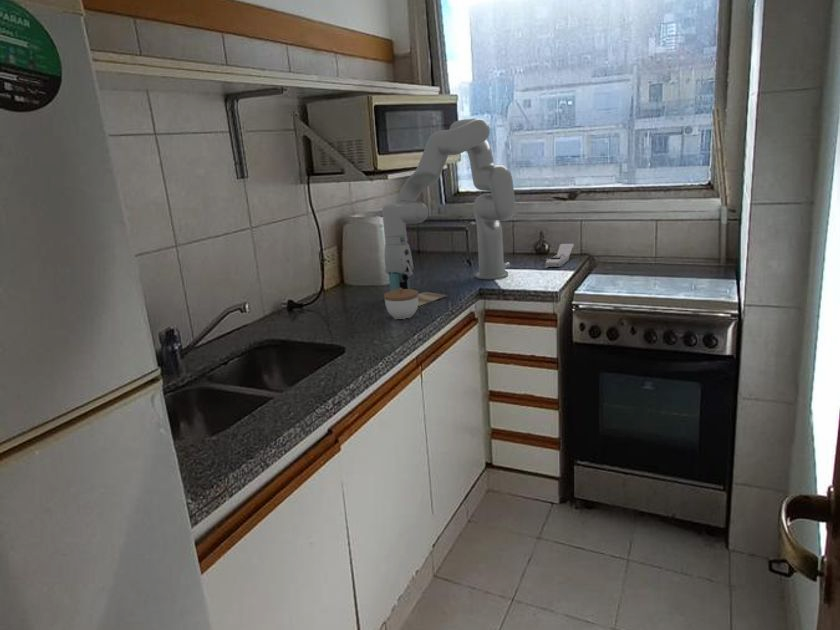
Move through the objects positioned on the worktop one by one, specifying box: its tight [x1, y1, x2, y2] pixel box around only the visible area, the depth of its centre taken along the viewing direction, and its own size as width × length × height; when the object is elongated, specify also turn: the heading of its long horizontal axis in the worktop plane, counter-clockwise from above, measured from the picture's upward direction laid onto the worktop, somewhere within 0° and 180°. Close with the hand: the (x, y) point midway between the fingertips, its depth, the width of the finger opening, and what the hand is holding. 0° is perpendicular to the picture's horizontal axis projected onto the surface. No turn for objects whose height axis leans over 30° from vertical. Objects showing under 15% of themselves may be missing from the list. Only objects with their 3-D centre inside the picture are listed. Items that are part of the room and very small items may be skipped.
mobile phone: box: [544, 243, 574, 269], centre depth 251 cm, size 6×6×25 cm
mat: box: [418, 291, 448, 307], centre depth 210 cm, size 16×11×1 cm
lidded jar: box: [383, 288, 419, 320], centre depth 191 cm, size 11×11×9 cm
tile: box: [388, 273, 411, 291], centre depth 215 cm, size 3×7×9 cm, turn 136°
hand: (400, 291), depth 216 cm, fingers closed on tile, 2 cm apart
